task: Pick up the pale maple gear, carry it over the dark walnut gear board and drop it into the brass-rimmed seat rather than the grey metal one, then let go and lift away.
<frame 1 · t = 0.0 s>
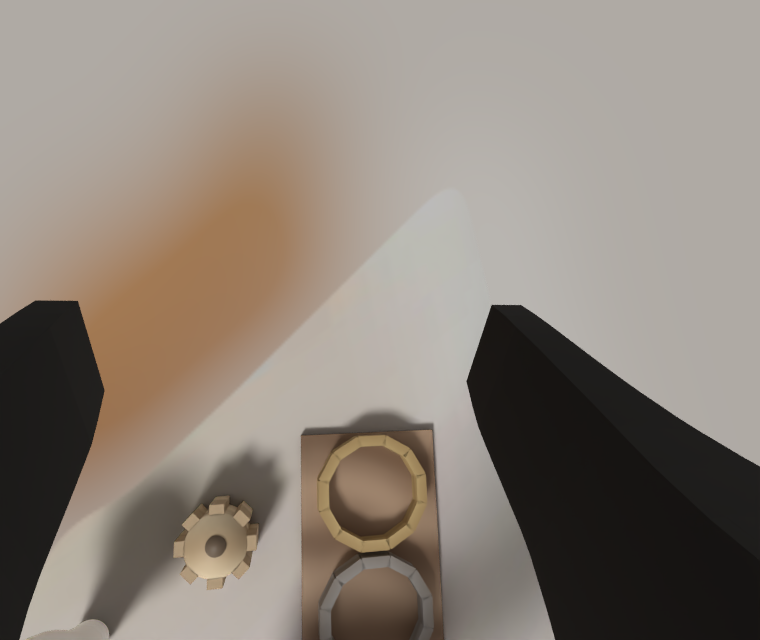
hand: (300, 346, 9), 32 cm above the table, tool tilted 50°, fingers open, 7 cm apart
gear board: (370, 547, 39), on the table
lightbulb: (94, 633, 34), on the table
gear: (222, 533, 37), on the table
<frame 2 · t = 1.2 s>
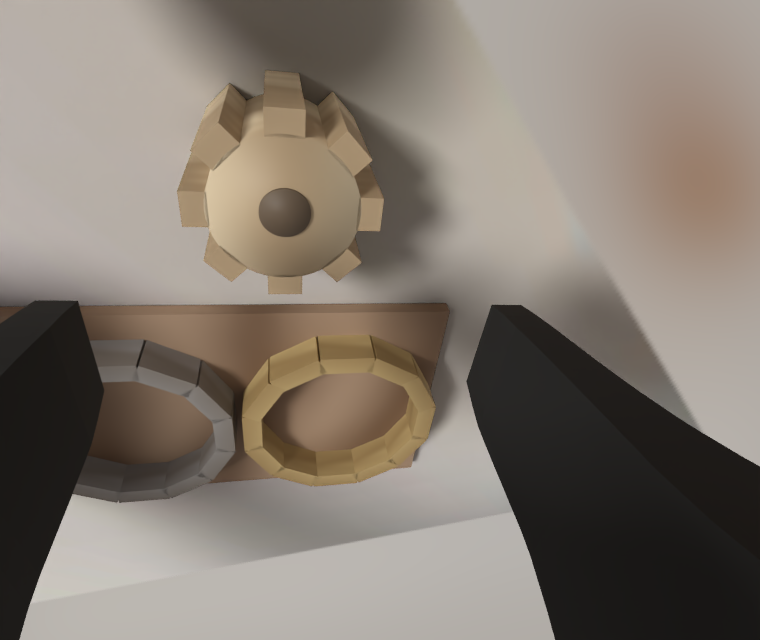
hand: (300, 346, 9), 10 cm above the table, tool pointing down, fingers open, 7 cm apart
gear board: (240, 399, 23), on the table
gear: (282, 159, 16), on the table
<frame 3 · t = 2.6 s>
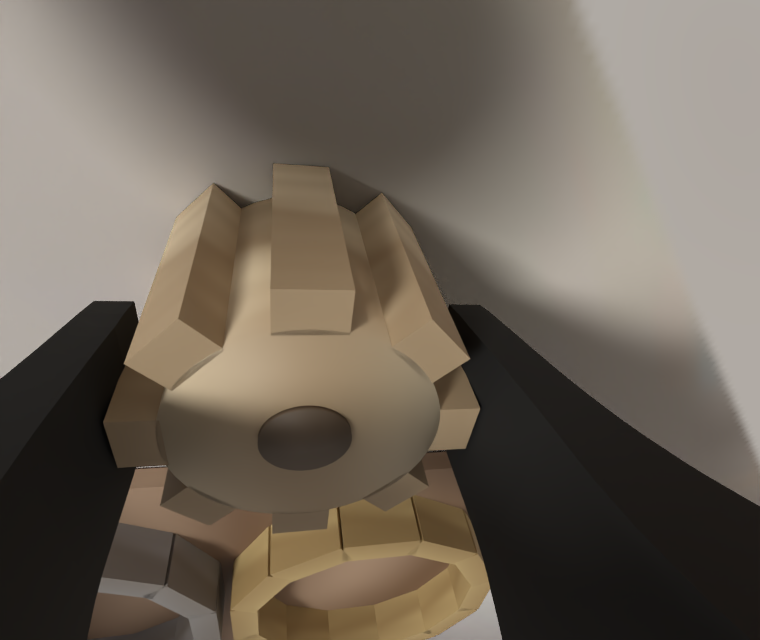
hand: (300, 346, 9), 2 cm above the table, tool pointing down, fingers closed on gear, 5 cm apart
gear board: (230, 560, 17), on the table
gear: (297, 288, 10), on the table, touching gripper
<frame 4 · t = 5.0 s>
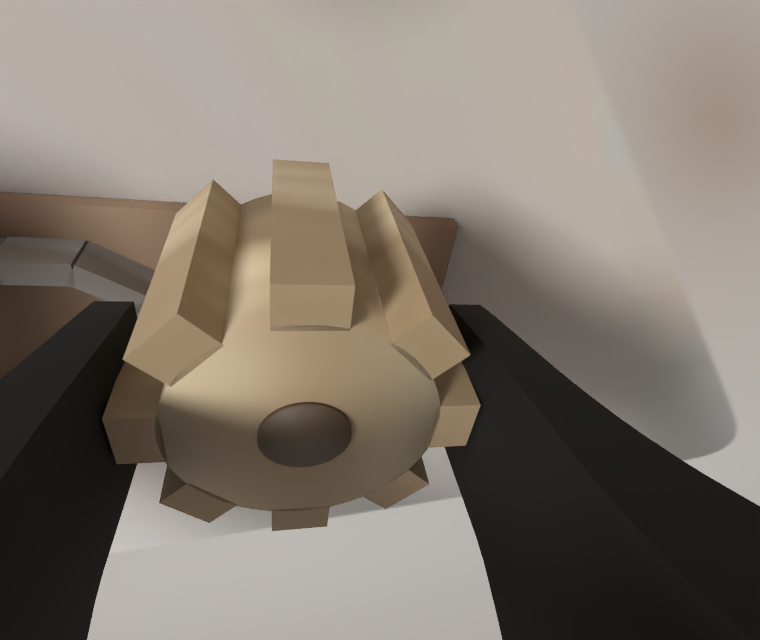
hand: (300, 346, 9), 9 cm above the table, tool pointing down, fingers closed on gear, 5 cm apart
gear board: (208, 332, 19), on the table
gear: (297, 285, 10), point 7 cm above the table, touching gripper
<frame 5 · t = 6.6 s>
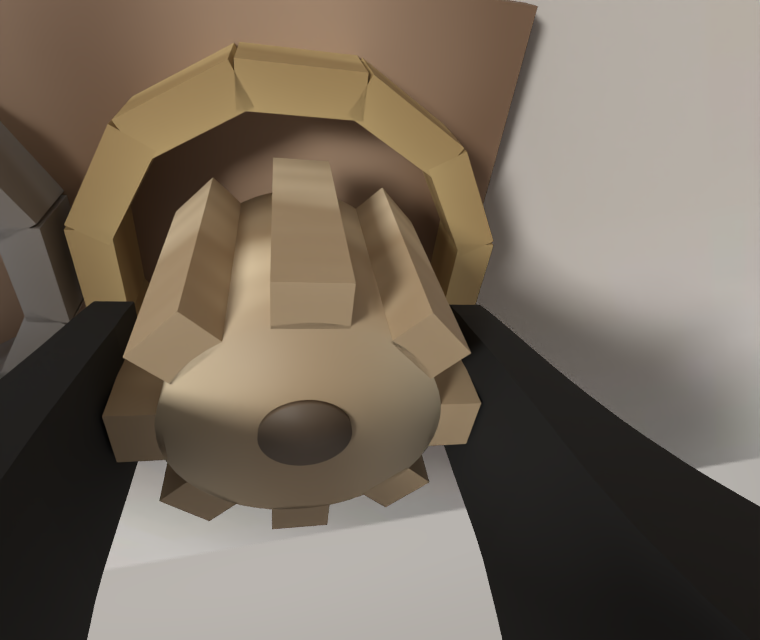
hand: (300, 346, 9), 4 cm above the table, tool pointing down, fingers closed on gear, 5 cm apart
gear board: (97, 229, 11), on the table
gear: (297, 283, 10), point 2 cm above the table, touching gripper
when the fingers open (4 cm above the table, at t = 7.7 s): gear drops 1 cm, resting on gear board.
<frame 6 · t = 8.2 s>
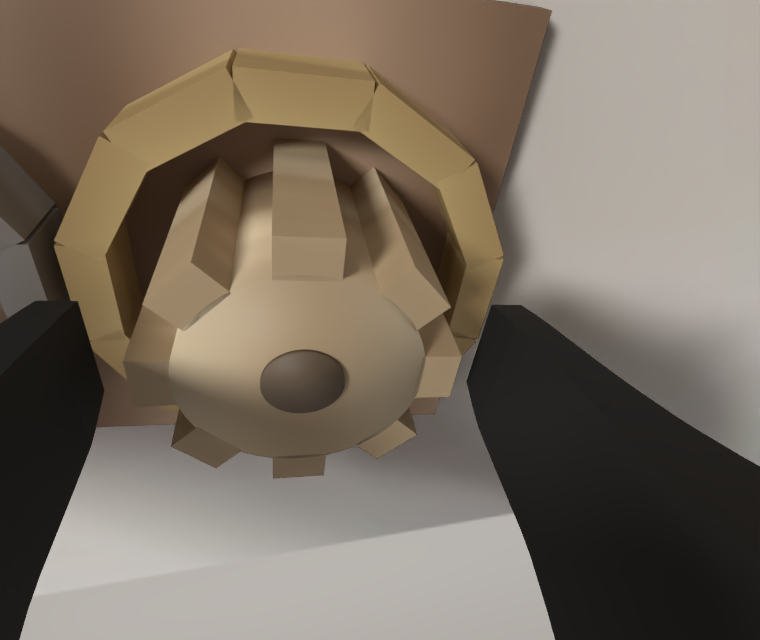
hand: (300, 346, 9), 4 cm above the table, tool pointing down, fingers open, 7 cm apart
gear board: (90, 242, 11), on the table
gear: (296, 257, 11), point 1 cm above the table, touching gear board
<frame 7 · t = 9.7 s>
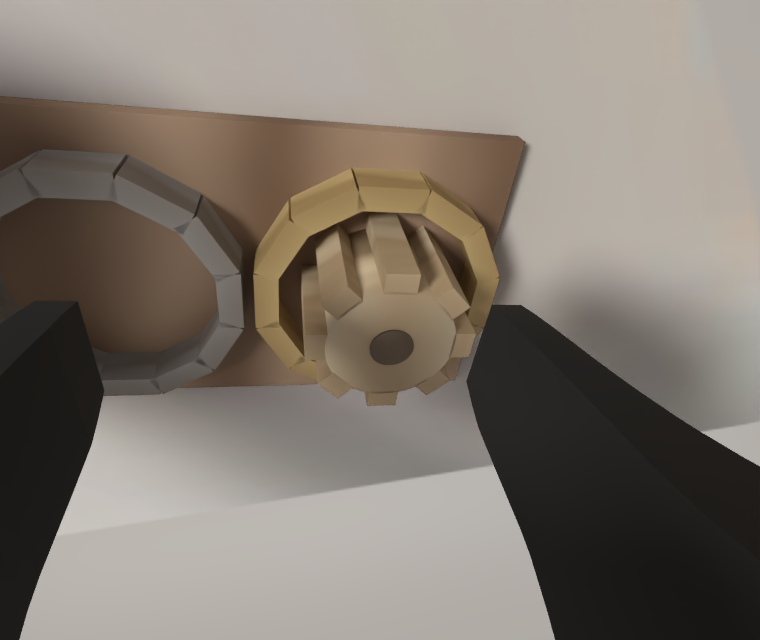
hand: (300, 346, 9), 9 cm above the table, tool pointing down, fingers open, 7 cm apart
gear board: (251, 269, 18), on the table
gear: (373, 277, 18), point 1 cm above the table, touching gear board
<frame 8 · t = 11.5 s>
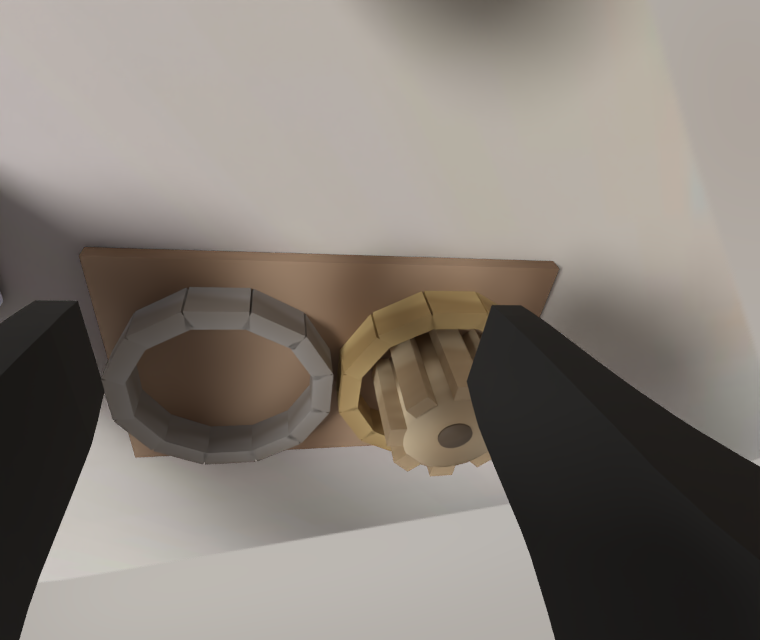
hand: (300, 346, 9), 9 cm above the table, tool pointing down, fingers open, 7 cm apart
gear board: (331, 360, 22), on the table
gear: (430, 366, 22), point 1 cm above the table, touching gear board
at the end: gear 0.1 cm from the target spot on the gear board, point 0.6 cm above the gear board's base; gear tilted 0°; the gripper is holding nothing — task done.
